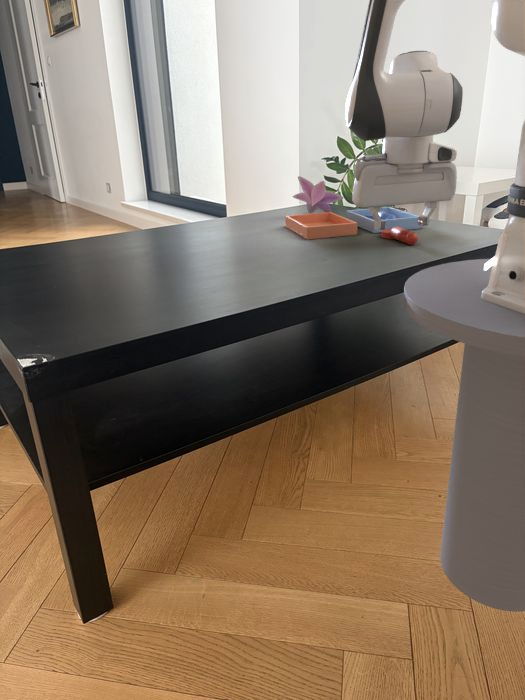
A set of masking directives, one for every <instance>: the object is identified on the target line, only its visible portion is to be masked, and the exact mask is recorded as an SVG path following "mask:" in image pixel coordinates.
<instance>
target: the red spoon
mask: <svg viewBox="0 0 525 700" xmlns="http://www.w3.org/2000/svg"><path fill="white" fill-rule="evenodd" d="M380 233H381V234H380V235H381V238H383V239H387V240H396V241H399V242H402V243H404V244H406V245H409V246H413V245H415V244H416V243H417V242H418V240H419V236H418V234H417V233H416V232H414V231H410V230H406V229H403V228H400V227H394V228H392V229H385V230H382V232H380Z"/></svg>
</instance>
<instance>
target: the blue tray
mask: <svg viewBox="0 0 525 700" xmlns="http://www.w3.org/2000/svg"><path fill="white" fill-rule="evenodd" d="M381 211H382V212H385V213H388V214H392V215H394V216H395V217H396V219H388V220H385V221H386V223H385V229H392V228H394V227H400V228H403V229H406V230H408V231H410V230H419V229H422V226H421V225H418V221H419V220H418V216H419V215H418V214H414V213H411V212H408V211H405V210H402V209H397V208H395V207H392V206H381ZM366 214H370V208H361V209H347V210H345V218H347V219H349V220H352V221H354V222H357V227H359V228H361V229H364V230H366V231H367V232H371V233H373V234H378V233H382V230H375V228H374V221H375V220H373V219H370V218H367V217H366ZM385 229H384V230H385Z"/></svg>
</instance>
